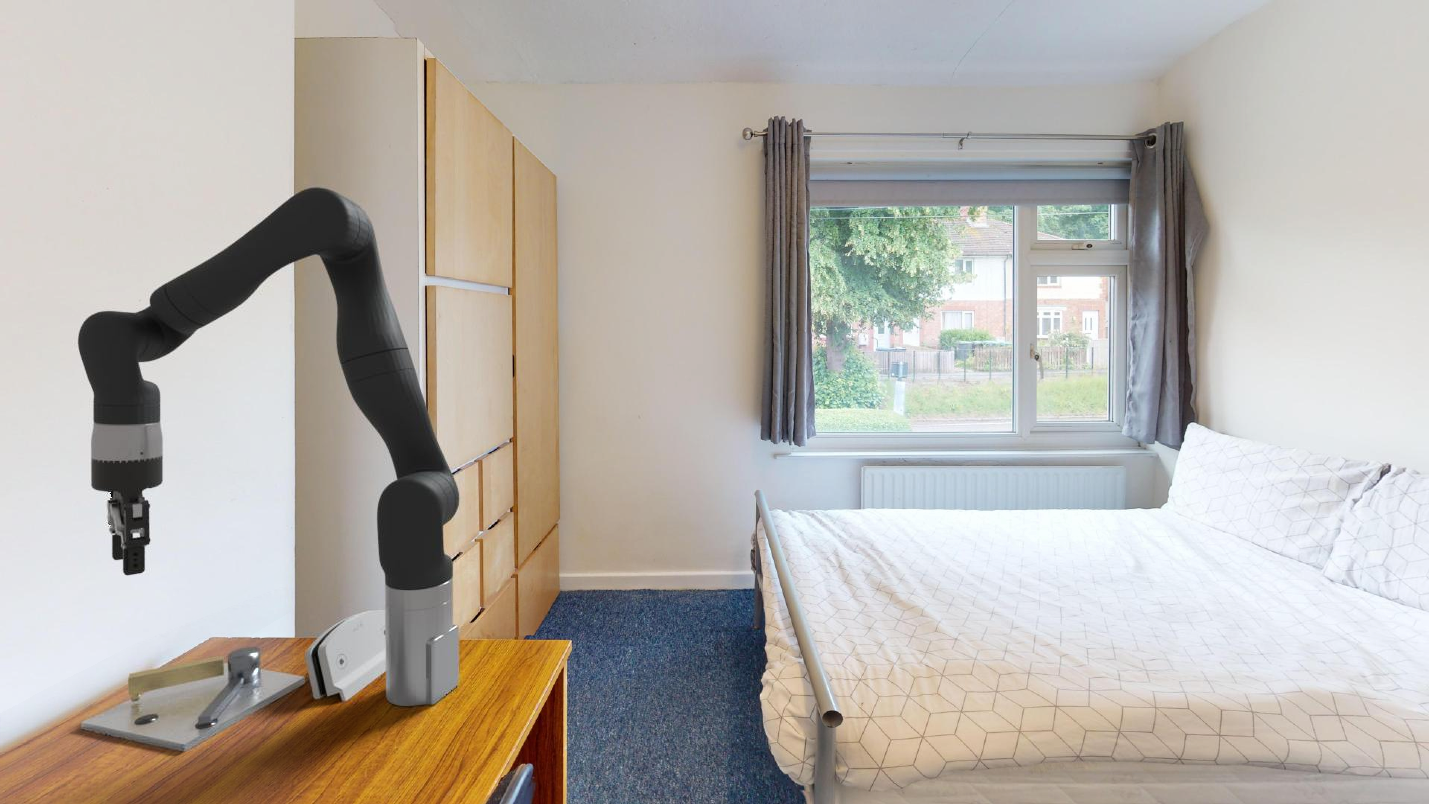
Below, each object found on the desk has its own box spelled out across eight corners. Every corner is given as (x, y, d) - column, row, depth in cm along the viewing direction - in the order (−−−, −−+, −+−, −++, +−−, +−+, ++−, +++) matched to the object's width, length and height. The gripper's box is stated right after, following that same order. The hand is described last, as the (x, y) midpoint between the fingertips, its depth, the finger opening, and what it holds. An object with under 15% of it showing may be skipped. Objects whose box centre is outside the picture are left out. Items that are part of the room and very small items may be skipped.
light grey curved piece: (344, 702, 95) (321, 637, 94) (316, 710, 95) (294, 645, 95) (412, 651, 111) (393, 595, 111) (388, 657, 112) (369, 602, 112)
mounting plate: (305, 683, 100) (304, 651, 99) (184, 751, 82) (183, 713, 82) (214, 667, 104) (213, 636, 103) (81, 729, 86) (79, 693, 86)
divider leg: (224, 678, 98) (223, 655, 97) (223, 682, 96) (223, 659, 96) (130, 698, 91) (129, 673, 91) (129, 703, 90) (128, 678, 90)
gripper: (173, 459, 90) (173, 573, 92) (151, 445, 99) (151, 549, 101) (99, 464, 85) (100, 585, 86) (83, 448, 94) (84, 558, 95)
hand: (128, 566), depth 93 cm, fingers open, 8 cm apart
